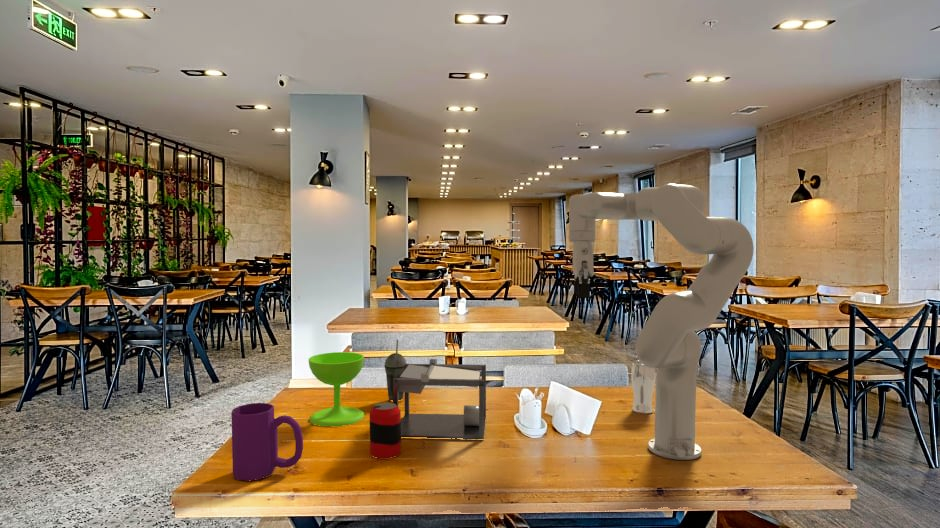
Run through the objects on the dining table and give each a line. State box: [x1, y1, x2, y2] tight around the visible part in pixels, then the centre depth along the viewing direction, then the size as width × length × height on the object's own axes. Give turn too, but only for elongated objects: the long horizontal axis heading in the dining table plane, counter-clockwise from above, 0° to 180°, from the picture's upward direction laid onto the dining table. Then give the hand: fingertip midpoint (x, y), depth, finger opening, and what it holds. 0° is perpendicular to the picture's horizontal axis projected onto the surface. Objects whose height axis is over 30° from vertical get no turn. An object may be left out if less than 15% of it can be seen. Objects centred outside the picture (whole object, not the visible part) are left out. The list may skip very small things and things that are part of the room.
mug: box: [230, 402, 304, 482], centre depth 126 cm, size 9×16×15 cm, turn 94°
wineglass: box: [308, 351, 365, 427], centre depth 165 cm, size 16×16×18 cm
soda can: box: [369, 402, 402, 458], centre depth 138 cm, size 8×8×12 cm
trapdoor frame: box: [392, 358, 487, 440], centre depth 156 cm, size 18×24×18 cm
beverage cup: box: [383, 339, 407, 401], centre depth 182 cm, size 7×7×20 cm
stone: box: [463, 404, 479, 426], centre depth 155 cm, size 6×6×5 cm
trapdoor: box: [399, 364, 481, 395], centre depth 155 cm, size 15×21×5 cm
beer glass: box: [630, 359, 656, 415], centre depth 171 cm, size 7×7×15 cm
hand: (581, 295), depth 163 cm, fingers open, 9 cm apart
